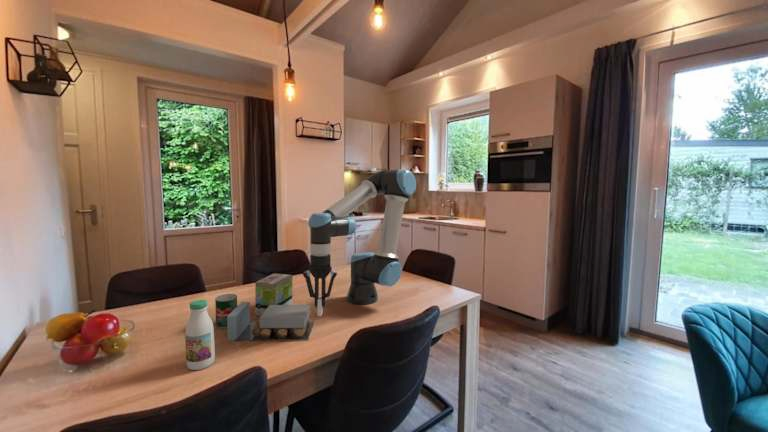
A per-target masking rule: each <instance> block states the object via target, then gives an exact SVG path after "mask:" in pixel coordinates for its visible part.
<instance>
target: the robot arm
mask: <svg viewBox="0 0 768 432" xmlns="http://www.w3.org/2000/svg"><path fill="white" fill-rule="evenodd" d="M416 181H417V180H416V177H415V175H414V173H413V172H411V171H410V170H409V169H402V168H401V169H384V170H383V169H382V170H379V171H377V172H374V173H373V174H372V175H370V176H368V177H367V178H365V179H364V180H363V181H362V182H361V184H360V185H359V186H358V187H356V188H355V189H353V190H352V191H350V192H349V193H347V194H346V195H345V196H343V197H342V198H341V199H339V200H338V201H337V202H335V203H334V204H332V205H330V207H328V208H327V209H325V210H323V211H322V212H313V213H312V214H311V215H310V217H309V218H308V222H307V223H308V227H309V228H310V231H309V233H310V238H309V239H310V242H309V244H310V245H309V246H310V249H309V253H310V256H309V259H310V260H309V262H310V263H309V268H308V270H304V271H303V273H302V276H303V277H304V280H305V283H306V286H307V290H308V293H309V297H310V298H313V299H314V307H315V308H317V314H316V315H317V317H321V316H322V315H323V308H325V306H326V299H327V298H329V297H330V296H331V293H332V288H333V285H334V280H335V278H336V277H337V275H338V271H335V270H333V268H332V266H331V259H332V258H331V257H332V256H331V250H332V249H331V248H332V247H331V245H332V244H331V241H332V240H331V239H332V238H337V237H344V236H345V237H347V236H350V235H353V234H355V232H356V230H357V222H356V220H355V219H354V218H353V217H351V216H348V215H350V214H351V213H352V212H353V211H355V210H357V208H359V207H360V206H361V205H363V204H364V203H366V202H367V201H368V200H370V199H374V198H376V197H377V196H380V195H383V196H384V198H385V200H386V203H385V208H384V214H383V220H382V227H381V232H380V236H379V241H378V248H377V251H376V252H373V251H371V252H370V251H365V252H364V251H363V252H359V253H358V252H357V253H354V254H352V255H351V258H350V286H349V288H348V291H347V294H346V298H347V299H346V301H347V302H349V303H350V304H353V305H354V304H355V305H370V304H374V303H376V302H377V301H378V300H379V299H378V298H379V294H378V291H377V287H376V285H375V284H378V285H380V286H382V287H383V286H385V287H388V288H389V287H392V286H394V285H396V284H397V283H398V281H399V280H400V279H401V277H402V273H403V268H402V264H401V263H400V262H399V259H400V257H399V256H398V254H397V251H398V246H399V245H398V244H399V239H400V234H401V227H402V222H403V216H404V210H405V205H406V203H407V202H408V201H409V198H410V196H412V195H414V193H415V192H416V189H417V182H416ZM329 274H330V279H329V283H328V284H329V285H328V287H327V286H326V284H327V282H326V279H327V277H328V276H329ZM310 275H312V277H313V278H314V286H313V284H312V283H313V282H312V280H311V276H310ZM320 280H321V296H320V293H319V291H320V287H319V286H320V284H319V283H320V282H319V281H320ZM313 287H314V288H313ZM326 287H327V288H328V289H327V290H326Z"/></svg>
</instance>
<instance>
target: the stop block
mask: <svg viewBox="0 0 768 432" xmlns="http://www.w3.org/2000/svg"><path fill="white" fill-rule="evenodd" d="M250 308H251V307H250V301H241V302H240V303H239V304H237V307H236V308H235V309H234V310H233V311H232V312H231V313H230V314H229V315H228V316H227V328H226V329H227V341H229V342H231V341H234V340H235V339H237V338H238V337H239V336H240V334H241V333H242V332H243V331H244V330H245V328H246V327H247V326H248V325H249V323H250V322H251V309H250Z"/></svg>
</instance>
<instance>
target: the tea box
mask: <svg viewBox="0 0 768 432" xmlns="http://www.w3.org/2000/svg"><path fill="white" fill-rule="evenodd" d="M293 279H294V278H293V275H292V274H284V273H272V274H270V275H268V276H266V277H264V278H261V279H260V280H257V281H255V298H254V299H255V303H254V304H255V307H254V308H255V309H254V310H255V311H254V313H255V316H260V317H261V315H262V314H263V313H264V311H265V310H266V309H267V308H268V306H269V305H293Z"/></svg>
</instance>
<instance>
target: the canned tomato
mask: <svg viewBox="0 0 768 432" xmlns="http://www.w3.org/2000/svg"><path fill="white" fill-rule="evenodd" d="M214 301H215V303H214V304H215V327H216V328H218V329H227V316H228V315H229V314H230V313H231V312H232V311H233V310H234V309H235V308H236V307H237V306H238V295H237V294H235V293H225V294H221V295H218V296H216V297H215V298H214Z"/></svg>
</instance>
